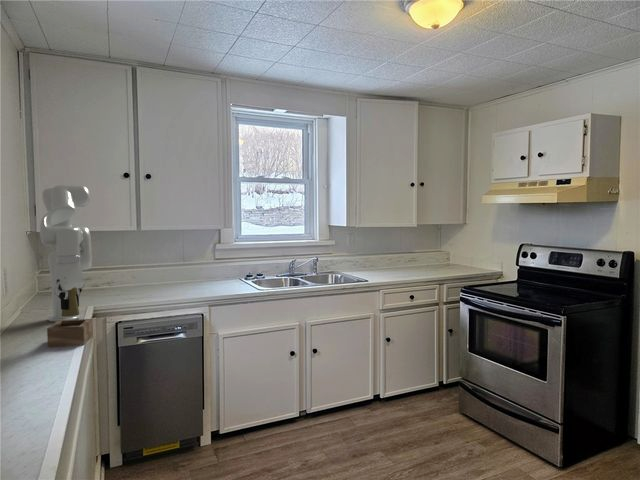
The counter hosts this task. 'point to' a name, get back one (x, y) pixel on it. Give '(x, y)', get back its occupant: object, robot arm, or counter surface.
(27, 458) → the counter surface
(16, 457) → the counter surface
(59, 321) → the box
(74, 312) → the cork
